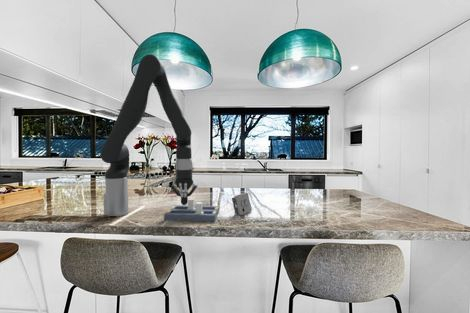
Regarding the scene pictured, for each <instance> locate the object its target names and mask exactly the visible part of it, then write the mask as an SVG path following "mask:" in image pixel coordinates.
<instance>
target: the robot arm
mask: <svg viewBox="0 0 470 313" xmlns="http://www.w3.org/2000/svg"><path fill="white" fill-rule="evenodd" d="M167 76H168V75H167V73H166V69H165V65H164V63H163V62H162V60H160V58H158V57H157V55H154V54H145V55H144V56H143V57H142V58H141V59H140V61H139V63H138V67H137V68H136V73H135V76H134V79H133V82H132V83H131V86H130V89H129V91H128V93H127V95H126V97H125V99H124V101H123V103H122V106H121V108H120V110H119V113H118V115H117V117H116V119H115V122H114V125H113V126H112V129H111V130H110V133H109V134H108V136H107V138H106V139H105V141H104V142H103V144H102V147H101V149H100V159H101V160H102V162H104V163H106V164H110V165H109V168H108V169H107V170H106V171H105V172H104V186H105V193H104V194H103V215H104V216H106V215H107V217H110V216H116V217H120V216H121V217H122V216H124V215H125V216H126V215H127V214H128V213H129V191H128V190H129V189H128V188H129V186H128V185H129V184H128V173H129V170H130V150H129V147H128V146H127V145H126V144H125V142H126V139H127V138H128V137H129V135H130V134H131V133H132V132H133V131H134V129H135V128H137V126H138V125H139V124H140V122H141V121H142V120H143V118H144V117H143V116H144V114H145V111H146V110H147V105H148V100H149V99H148V98H149V93H150V89H151V87H152V85H154V87H155V89H156V90H157V93H158V96H159V100H160V103H161V106H162V108H163V111H164V113H165V115H166V117H167V119H168V121H169V122H170V124H171V126H172V129H173V131H174V134H175V138H176V139H175V140H176V149H175V150H176V151H175V155H176V156H175V181H174V183H173V184H172V185H170V188H171V189H172V191H173V192H174V193H175V195H176V196H177V197H180V204H181V206H187V205H188V199H189V197H191V196H192V194H193V193H194V192H195V191H196V190H197V189H198V187H199V186H198V184H195V183H194V180H193V160H192V159H193V158H192V157H193V156H192V146H191V145H192V144H191V143H192V140H191V139H192V130H191V127H190V125H189V123H188V121H187V120H186V118H185V116H184V113H183V110H182V109H181V107H180V104H179V102H178V100H177V98H176V96H175V94H174V92H173V90H172V88H171V85H170V82H169V80H168V77H167ZM190 188H191V190H190V191H189V189H190Z"/></svg>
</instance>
